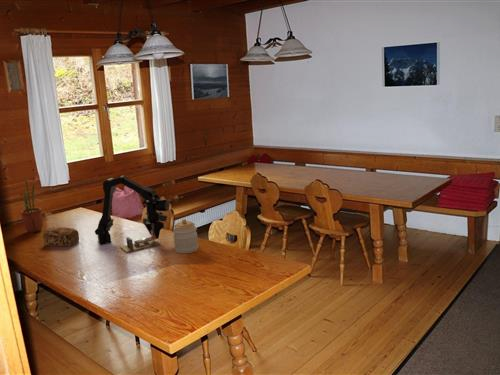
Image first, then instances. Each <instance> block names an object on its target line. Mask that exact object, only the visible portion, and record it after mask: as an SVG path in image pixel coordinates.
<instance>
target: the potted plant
mask: <svg viewBox="0 0 500 375" xmlns="http://www.w3.org/2000/svg"><path fill="white" fill-rule="evenodd" d="M24 181H25V185H24V187H26V191H25V192H23V197H21V198H20V199H19V202H20V203H21V202H22V201H24V205H23V209H21V210H20V211H19V212H20V215H21V217H22V222H23V227H24V229H25V230H26V231H27V232H28V233H31V234H34V232H35V233H37V232H39V231H41V230H42V228H43V225H44V224H43V221H44V220H43V215H42V214H43V213H42V210H43V209H42V208H41V207H35V200H36V201H40V202H42V200H41V199H38V198H35V197H34V196H35V192H37V190H36V189H35V188H36V187H35V184H34V183H33V184H32V188H31V195H30V191H29V188H30V187H31V186H30V185H29V184H28V181H29V182H30V180H29V179H25V180H24ZM31 199H32V203H31Z"/></svg>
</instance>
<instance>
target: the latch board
mask: <svg viewBox="0 0 500 375" xmlns="http://www.w3.org/2000/svg"><path fill="white" fill-rule="evenodd" d="M125 238H126V240H125V241H126V245H121V246H120V249H121V250H122V251H123V252H124V253H126V254H130V253H134V252H138V251H141V250H147V249H150V248H154V247H155V248H156V247H159V246H161V245H162V244H161V242H159V241H158V240H157V239H156V240H152V241H147V242H143V243H139V244H135V243H133V242H134V241H133V238H131V237H129V236H127V237H125Z"/></svg>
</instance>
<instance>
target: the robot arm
mask: <svg viewBox="0 0 500 375" xmlns="http://www.w3.org/2000/svg"><path fill="white" fill-rule="evenodd" d="M120 184H121V185H123V186H125V187H126V188H129V190H130V189H131V190H132V191H134V192H136V193H137V194H139V195H140V197H141V198H142V199H143V202H141V204H142V205H145V209H146V212H145V215H146V217H144V218H143V219H142V224H143V225H144V227H145V228H146V230H147V231H148V233H149V235H150V236H151V230H153V232H154V234H155V236H156V238H157V239H156V240H158V239H159V238H160V233H161V230H162V229H164V228H165V223H163V222H162V221H164V222H167V220H168V215H166V214H164V213H163V212H169V211H170V206H171V205H170V203H169V201H168V199H167V198H164V199H162V198H161V197H160V196H159V195H158V194H157V190H155V189H154V188H151V187H148V186H144V185H141V184H140V183H138V182H136V181H134V180H132V179H130V178H128V177H127V176H126V175H121V176H118V177H116V178H115V177H111V178H108V179H105V180H103V182H102V190H103V194H104V195H103V196H104V197H103V204H102V205H103V206H102V214H101V217H100V219H99V221H98V224H97V228H96V229H95V230H94V234H95V235H96V236H97V239H98V240H97V243H98V244H99V245H105V244H110V243H112V237H111V233H110V231H111V228H112V227H113V226H114V218H112V217H111V214H112V205H113V198H114V197H113V196H114V194H115V191H116V190H117V186H118V185H120Z"/></svg>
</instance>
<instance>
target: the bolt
mask: <svg viewBox="0 0 500 375" xmlns="http://www.w3.org/2000/svg"><path fill="white" fill-rule="evenodd" d="M152 240H156V241H157V240H158V239H157V238H156V236H155V234H154V232H153V230H151V235H150V237H146V238H140V239H137V240H134V241H133V242H134V243H135V244H139V243H143V242H147V241H152ZM134 243H133V244H134Z"/></svg>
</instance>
